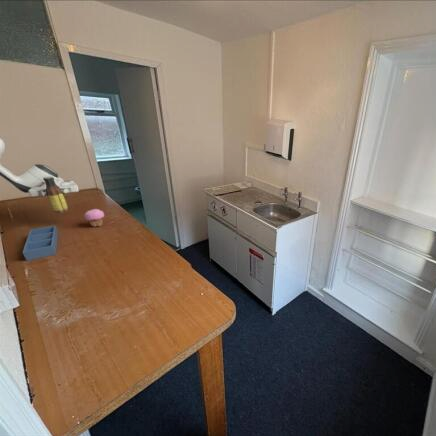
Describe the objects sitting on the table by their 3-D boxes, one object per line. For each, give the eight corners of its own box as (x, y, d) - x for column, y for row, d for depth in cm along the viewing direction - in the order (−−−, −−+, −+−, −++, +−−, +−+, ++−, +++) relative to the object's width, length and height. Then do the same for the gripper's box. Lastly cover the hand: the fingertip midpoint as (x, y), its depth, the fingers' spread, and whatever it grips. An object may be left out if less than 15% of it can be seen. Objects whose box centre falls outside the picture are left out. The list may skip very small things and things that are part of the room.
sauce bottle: (65, 208, 136) (54, 175, 129) (71, 210, 134) (59, 176, 126) (51, 211, 131) (38, 177, 123) (56, 214, 128) (44, 179, 121)
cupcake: (107, 221, 142) (102, 206, 138) (106, 226, 135) (101, 211, 131) (88, 224, 137) (83, 208, 133) (86, 230, 130) (81, 213, 126)
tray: (26, 260, 102) (22, 252, 100) (33, 237, 120) (30, 229, 118) (56, 254, 107) (52, 245, 106) (58, 232, 126) (55, 225, 124)
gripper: (28, 184, 129) (24, 190, 120) (76, 180, 142) (76, 185, 133) (32, 195, 132) (29, 202, 122) (79, 190, 144) (80, 195, 135)
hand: (54, 193), depth 128 cm, fingers closed on sauce bottle, 6 cm apart
